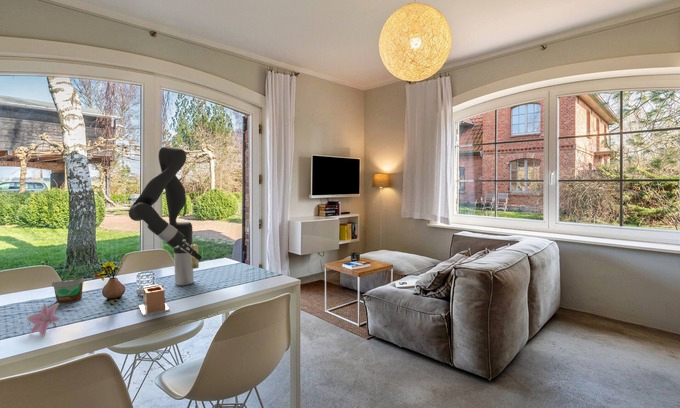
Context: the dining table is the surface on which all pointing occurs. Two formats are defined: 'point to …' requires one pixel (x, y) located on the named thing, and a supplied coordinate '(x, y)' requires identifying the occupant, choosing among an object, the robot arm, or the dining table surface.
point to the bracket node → (153, 300)
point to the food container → (68, 290)
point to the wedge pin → (193, 260)
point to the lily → (43, 319)
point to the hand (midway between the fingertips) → (199, 257)
